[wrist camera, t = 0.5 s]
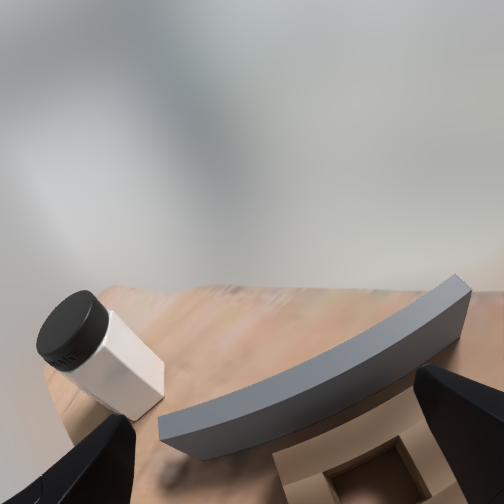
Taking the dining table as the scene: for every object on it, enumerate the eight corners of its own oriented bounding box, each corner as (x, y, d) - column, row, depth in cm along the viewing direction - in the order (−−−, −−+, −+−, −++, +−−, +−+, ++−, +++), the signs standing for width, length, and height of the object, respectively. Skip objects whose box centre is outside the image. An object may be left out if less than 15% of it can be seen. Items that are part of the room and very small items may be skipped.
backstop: (460, 336, 19) (472, 289, 16) (202, 460, 20) (159, 440, 16) (447, 321, 21) (455, 273, 18) (199, 441, 21) (157, 417, 18)
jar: (100, 406, 28) (25, 346, 21) (129, 354, 33) (66, 289, 27) (149, 430, 24) (57, 365, 17) (180, 365, 29) (109, 289, 23)
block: (466, 502, 9) (484, 499, 7) (328, 570, 9) (317, 582, 7) (409, 404, 17) (414, 384, 15) (288, 463, 17) (272, 453, 15)
